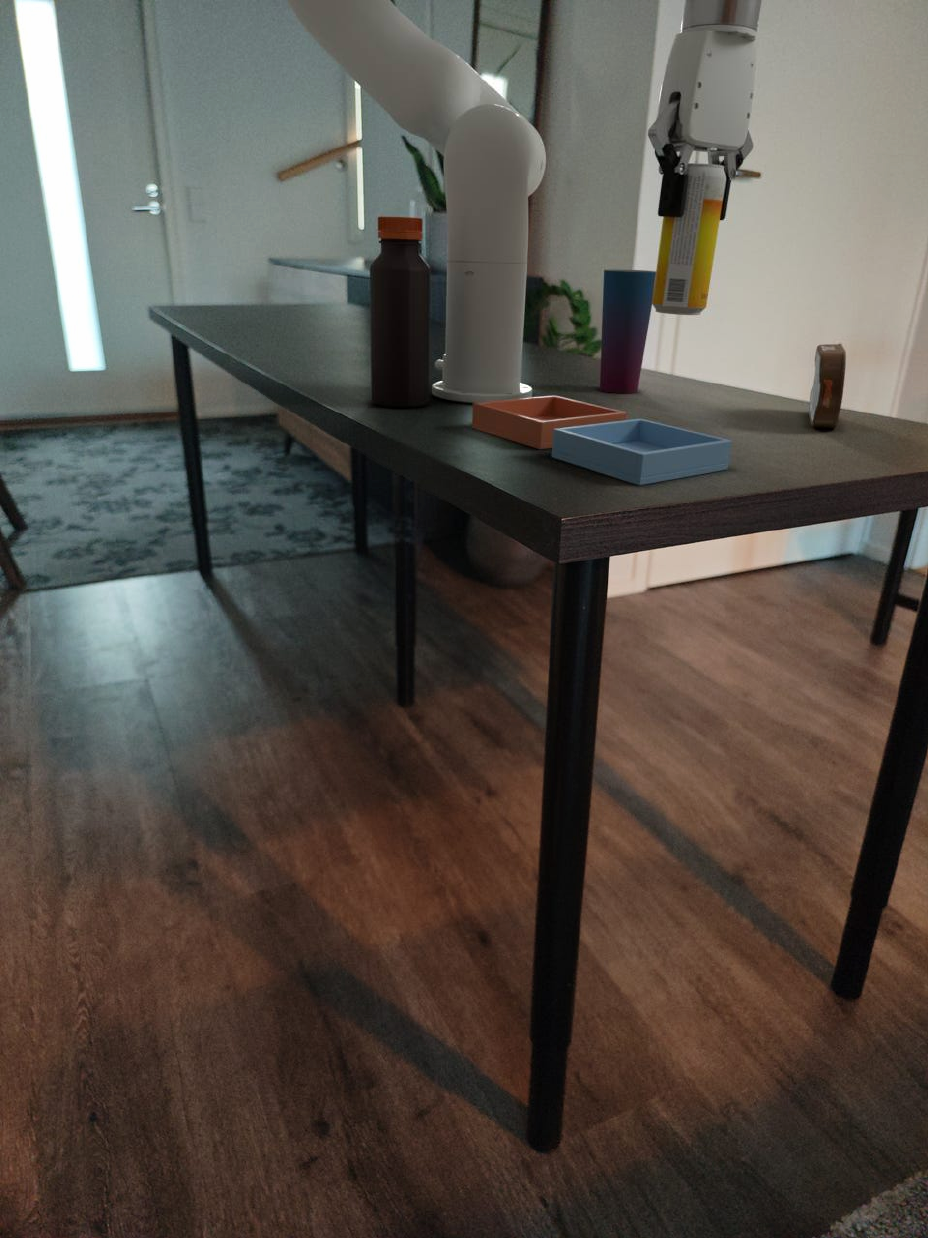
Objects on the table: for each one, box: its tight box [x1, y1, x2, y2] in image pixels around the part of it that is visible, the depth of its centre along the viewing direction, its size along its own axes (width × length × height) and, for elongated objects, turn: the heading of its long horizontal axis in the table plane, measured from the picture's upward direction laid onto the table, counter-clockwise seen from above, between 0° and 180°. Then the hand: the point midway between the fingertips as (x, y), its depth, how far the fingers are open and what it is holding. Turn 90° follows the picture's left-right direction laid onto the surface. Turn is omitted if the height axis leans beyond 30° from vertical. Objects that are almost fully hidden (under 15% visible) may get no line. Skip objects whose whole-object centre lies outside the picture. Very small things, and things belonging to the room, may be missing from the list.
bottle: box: [369, 216, 432, 409], centre depth 97 cm, size 7×7×20 cm
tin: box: [808, 342, 847, 430], centre depth 97 cm, size 15×3×8 cm, turn 161°
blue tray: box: [550, 418, 733, 486], centre depth 77 cm, size 11×11×3 cm
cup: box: [599, 268, 656, 394], centre depth 112 cm, size 7×7×15 cm
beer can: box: [652, 162, 726, 316], centre depth 95 cm, size 6×6×15 cm
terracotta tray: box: [471, 394, 628, 451], centre depth 88 cm, size 11×11×3 cm
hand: (691, 216), depth 94 cm, fingers closed on beer can, 6 cm apart
